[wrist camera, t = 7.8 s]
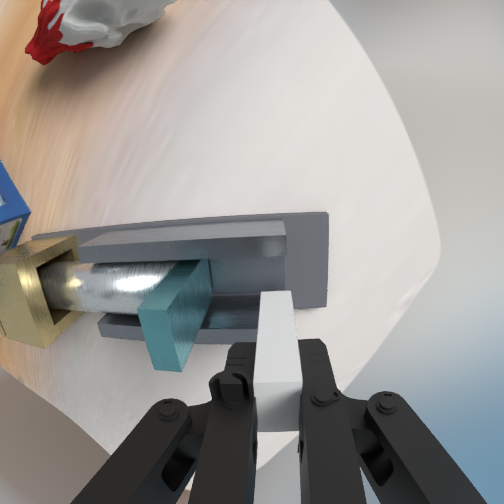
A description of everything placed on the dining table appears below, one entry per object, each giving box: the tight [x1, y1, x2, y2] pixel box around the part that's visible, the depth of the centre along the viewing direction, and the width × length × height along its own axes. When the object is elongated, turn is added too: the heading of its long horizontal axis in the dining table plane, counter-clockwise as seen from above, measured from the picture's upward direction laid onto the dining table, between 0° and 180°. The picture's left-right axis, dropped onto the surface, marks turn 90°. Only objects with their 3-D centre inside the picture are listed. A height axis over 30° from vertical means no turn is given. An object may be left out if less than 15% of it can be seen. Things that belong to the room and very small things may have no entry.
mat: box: [32, 212, 329, 309], centre depth 23 cm, size 29×8×1 cm, turn 94°
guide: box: [0, 218, 287, 349], centre depth 18 cm, size 25×7×8 cm, turn 94°
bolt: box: [36, 259, 213, 372], centre depth 17 cm, size 16×4×8 cm, turn 94°
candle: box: [25, 0, 176, 65], centre depth 12 cm, size 9×11×15 cm
